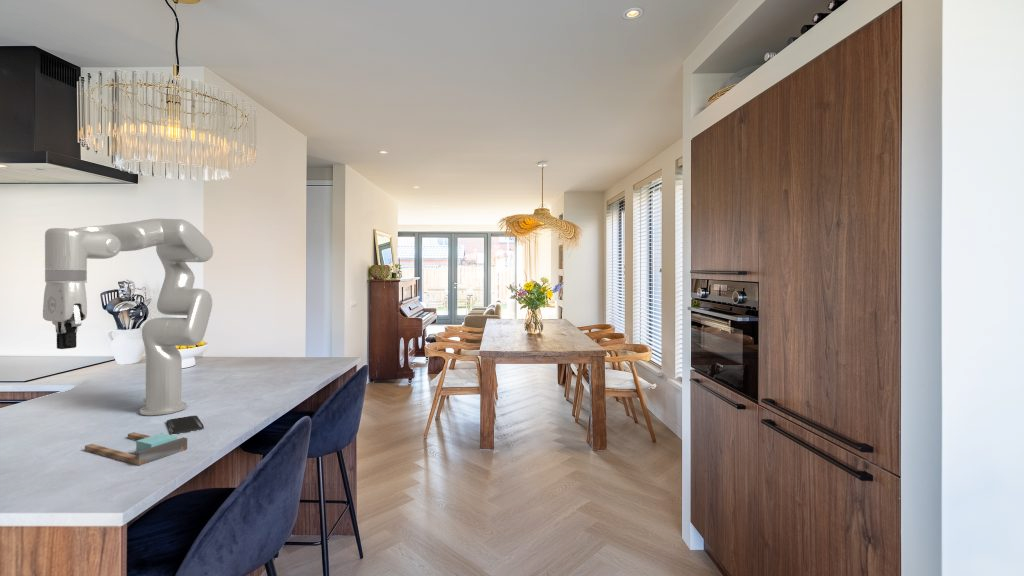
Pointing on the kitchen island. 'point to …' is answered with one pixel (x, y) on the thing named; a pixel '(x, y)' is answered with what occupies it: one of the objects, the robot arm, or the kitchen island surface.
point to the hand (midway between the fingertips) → (66, 348)
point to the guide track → (142, 455)
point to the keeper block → (154, 441)
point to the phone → (184, 424)
